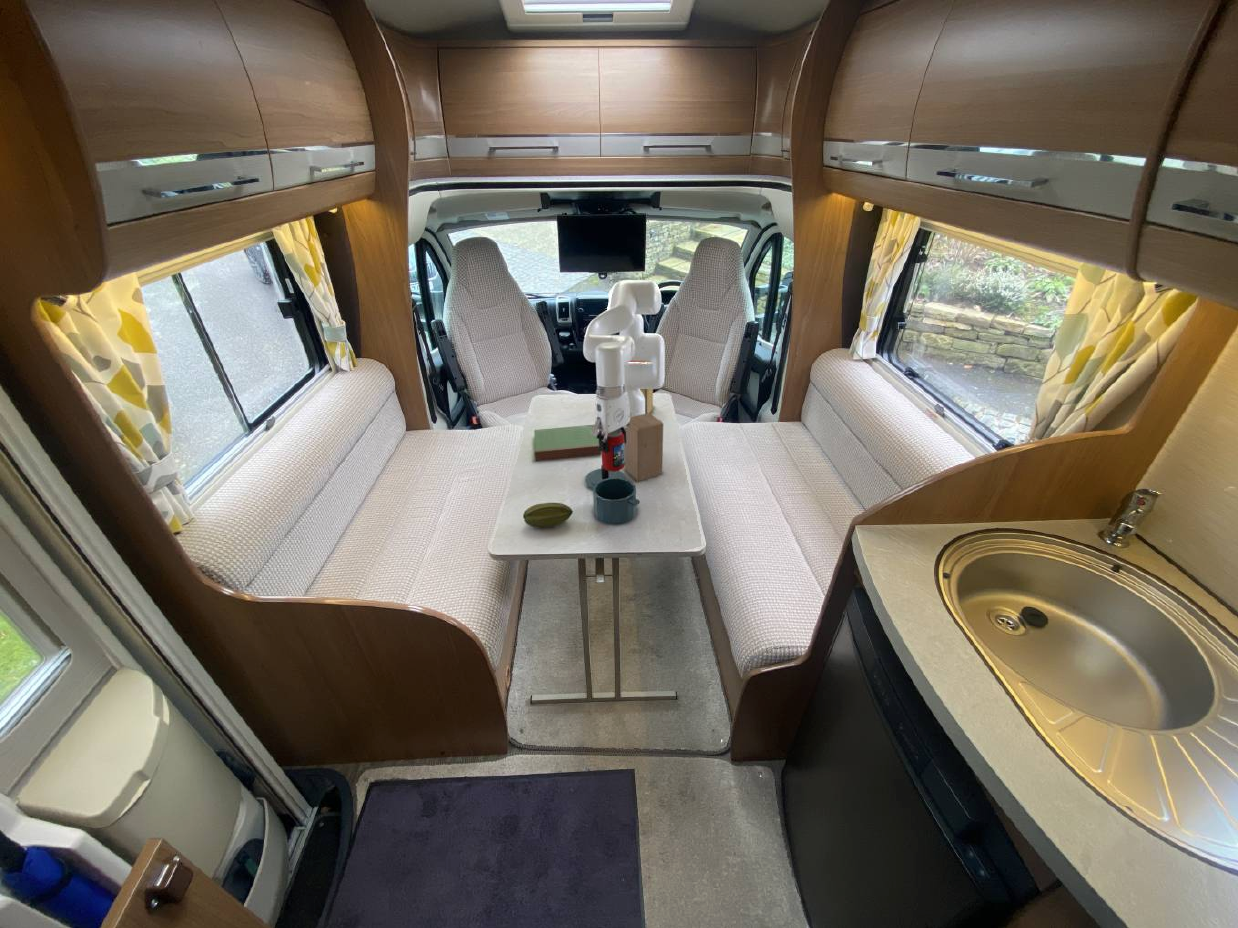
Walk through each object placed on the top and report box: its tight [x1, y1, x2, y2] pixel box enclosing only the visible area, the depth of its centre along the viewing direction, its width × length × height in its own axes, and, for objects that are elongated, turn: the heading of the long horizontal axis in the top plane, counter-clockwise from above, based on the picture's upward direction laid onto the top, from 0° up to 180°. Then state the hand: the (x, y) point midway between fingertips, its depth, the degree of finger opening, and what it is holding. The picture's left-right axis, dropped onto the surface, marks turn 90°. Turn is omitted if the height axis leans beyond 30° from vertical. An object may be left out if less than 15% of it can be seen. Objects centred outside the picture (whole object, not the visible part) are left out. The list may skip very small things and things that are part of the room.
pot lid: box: [584, 465, 626, 489], centre depth 170 cm, size 14×14×6 cm
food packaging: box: [629, 360, 654, 414], centre depth 214 cm, size 13×9×25 cm
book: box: [533, 424, 602, 462], centre depth 193 cm, size 25×19×4 cm
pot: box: [591, 478, 641, 525], centre depth 154 cm, size 13×18×8 cm
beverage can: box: [600, 429, 625, 472], centre depth 145 cm, size 7×7×12 cm
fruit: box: [522, 502, 574, 529], centre depth 149 cm, size 11×12×7 cm
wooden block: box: [624, 413, 664, 482], centre depth 171 cm, size 10×10×20 cm
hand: (612, 446), depth 144 cm, fingers closed on beverage can, 6 cm apart
